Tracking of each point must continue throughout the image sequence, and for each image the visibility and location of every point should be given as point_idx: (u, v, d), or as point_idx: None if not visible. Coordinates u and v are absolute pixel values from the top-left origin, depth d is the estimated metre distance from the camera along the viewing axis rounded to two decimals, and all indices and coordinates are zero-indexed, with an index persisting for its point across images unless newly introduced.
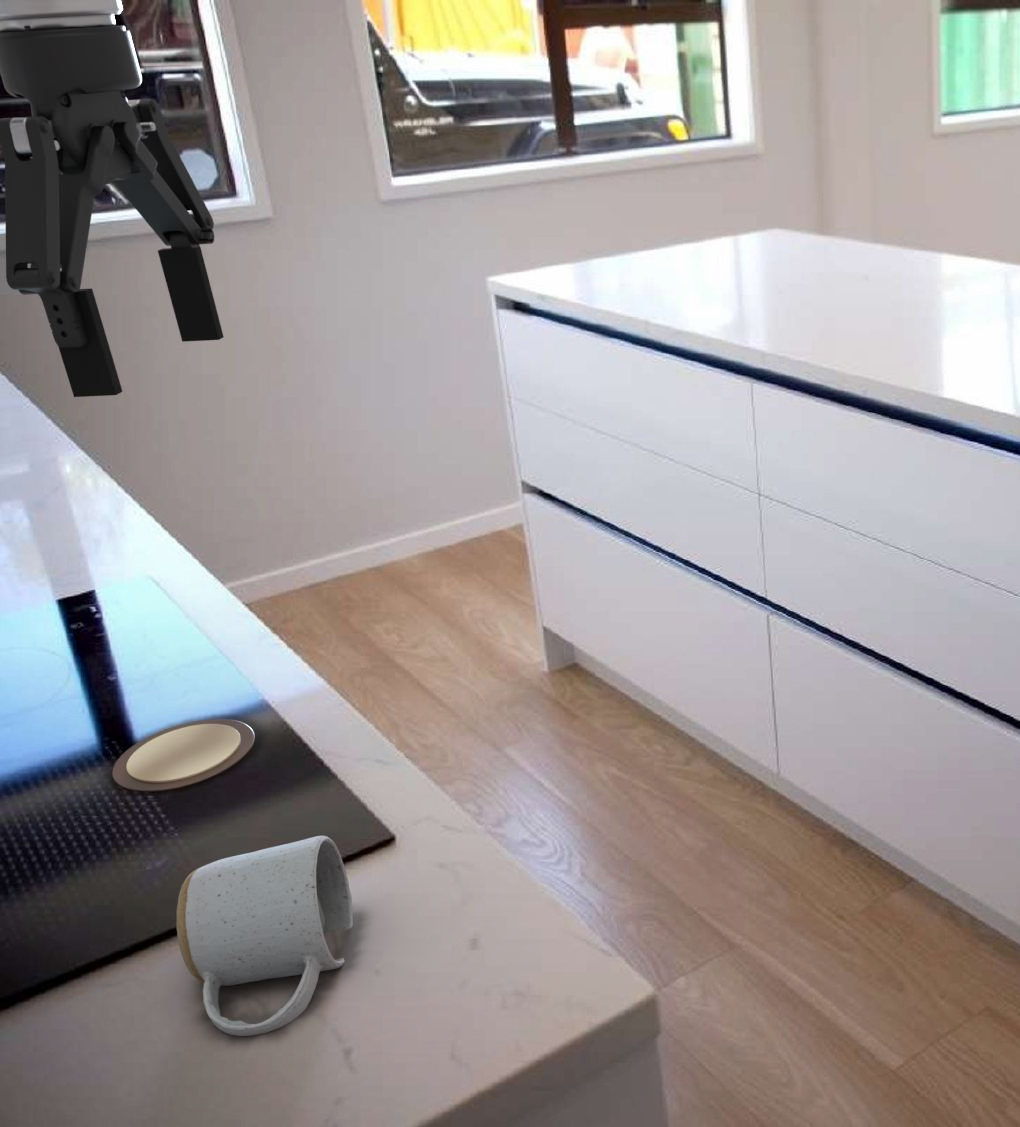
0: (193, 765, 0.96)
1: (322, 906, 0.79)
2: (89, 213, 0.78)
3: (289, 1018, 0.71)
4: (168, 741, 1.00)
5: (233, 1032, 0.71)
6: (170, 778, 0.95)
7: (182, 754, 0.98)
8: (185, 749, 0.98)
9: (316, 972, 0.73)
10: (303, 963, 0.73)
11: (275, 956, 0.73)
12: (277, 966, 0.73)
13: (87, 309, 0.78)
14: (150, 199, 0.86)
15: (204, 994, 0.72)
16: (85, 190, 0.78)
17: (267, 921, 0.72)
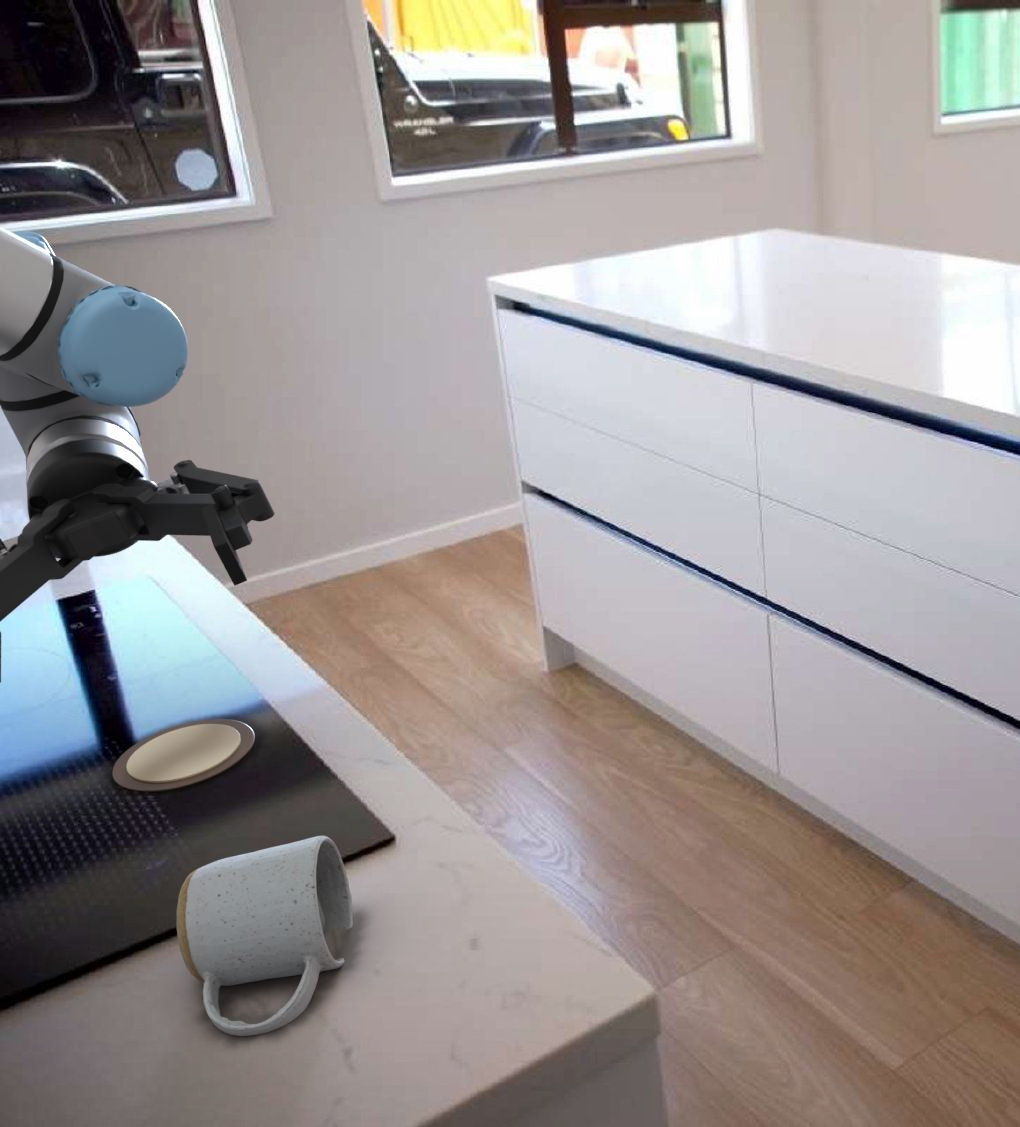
0: (193, 765, 0.96)
1: (322, 906, 0.79)
2: None
3: (289, 1018, 0.71)
4: (168, 741, 1.00)
5: (233, 1032, 0.71)
6: (170, 778, 0.95)
7: (182, 754, 0.98)
8: (185, 749, 0.98)
9: (316, 972, 0.73)
10: (303, 963, 0.73)
11: (275, 956, 0.73)
12: (277, 966, 0.73)
13: None
14: (27, 580, 0.79)
15: (204, 994, 0.72)
16: None
17: (267, 921, 0.72)
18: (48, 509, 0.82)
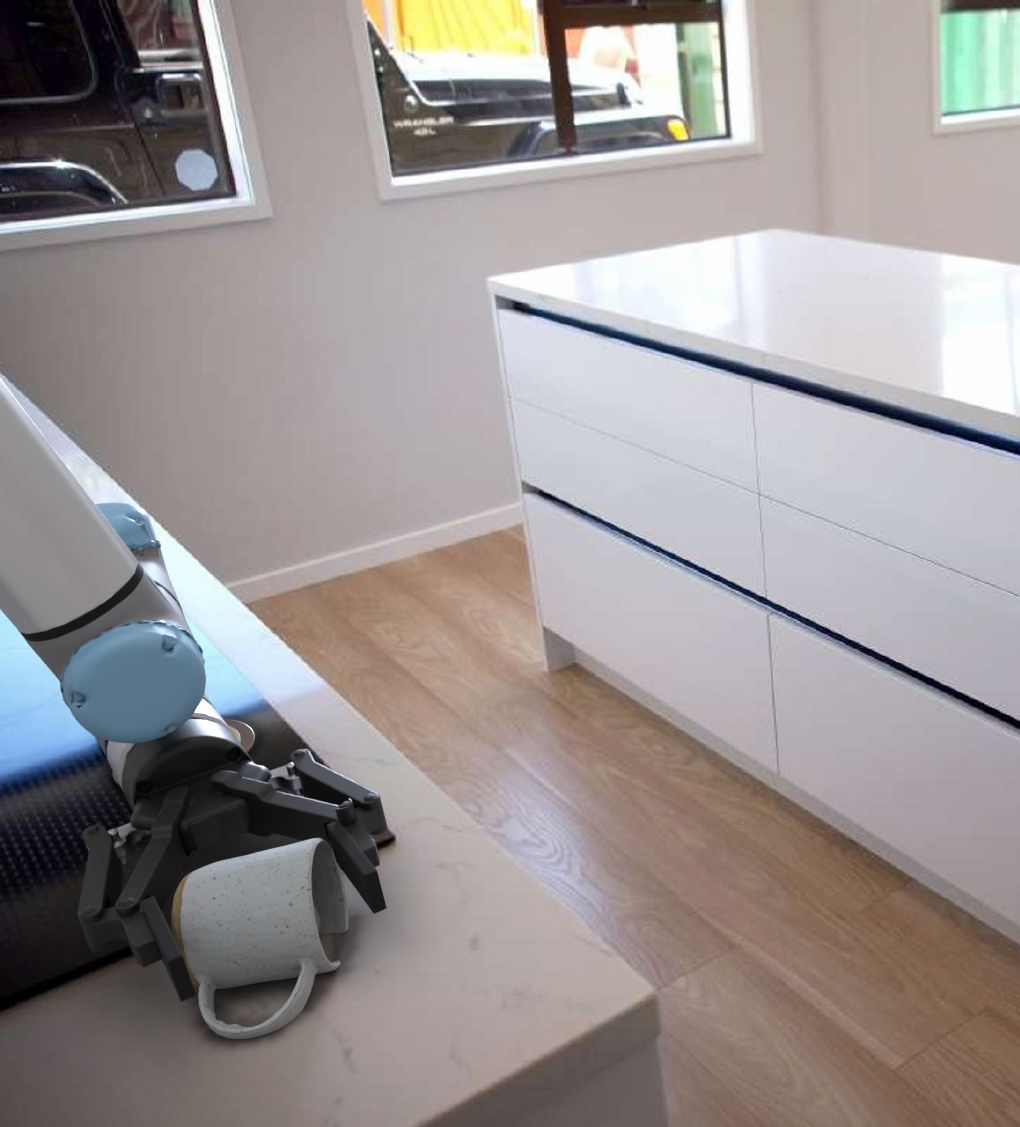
0: None
1: (317, 908, 0.79)
2: None
3: (285, 1021, 0.71)
4: None
5: (229, 1035, 0.70)
6: None
7: None
8: None
9: (311, 975, 0.73)
10: (299, 966, 0.73)
11: (270, 959, 0.72)
12: (273, 969, 0.73)
13: None
14: (169, 873, 0.76)
15: (199, 997, 0.71)
16: None
17: (262, 924, 0.72)
18: (166, 797, 0.80)
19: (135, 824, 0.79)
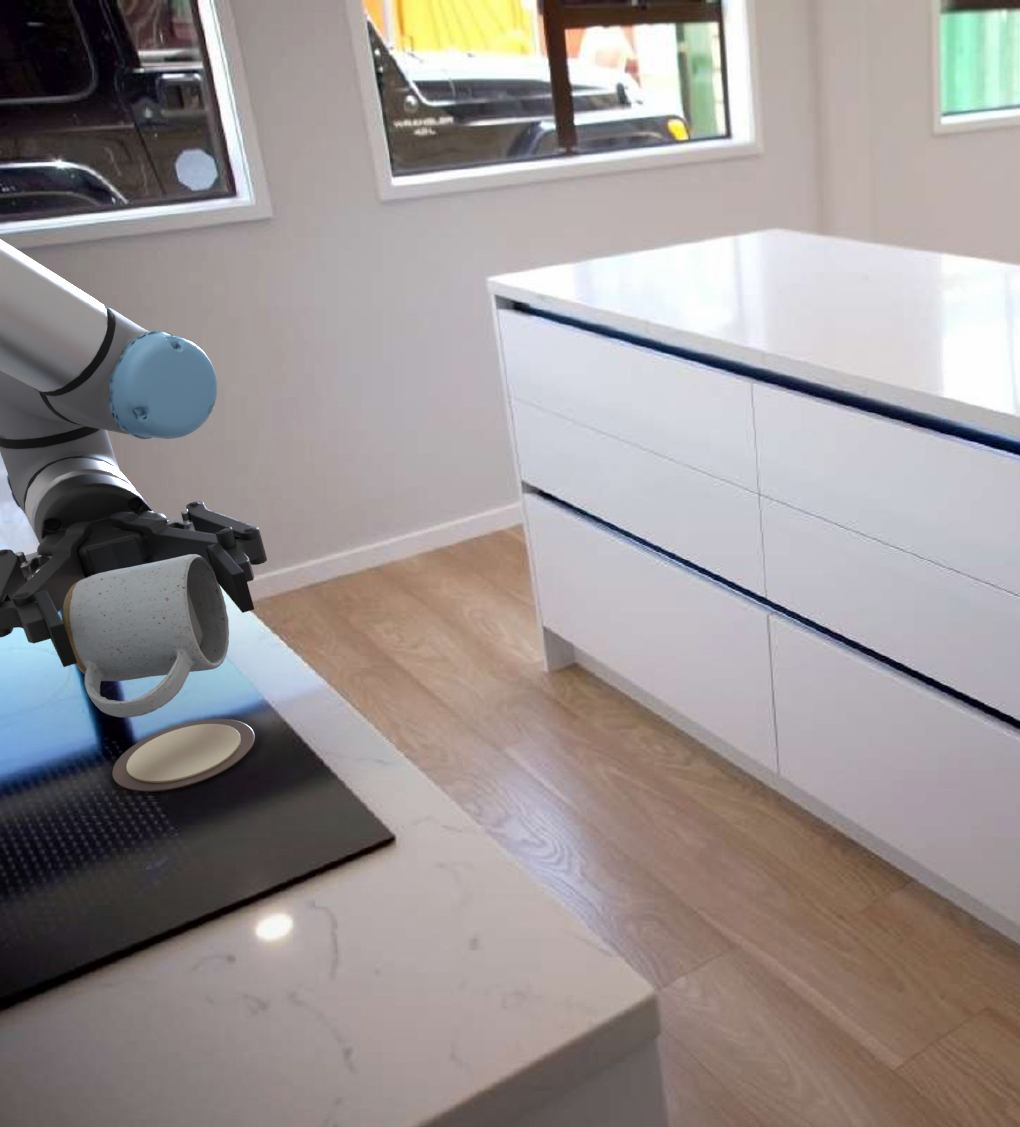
0: (193, 765, 0.96)
1: (201, 626, 0.89)
2: None
3: (160, 698, 0.81)
4: (168, 741, 1.00)
5: (109, 707, 0.80)
6: (170, 778, 0.95)
7: (182, 754, 0.98)
8: (185, 749, 0.98)
9: (187, 665, 0.83)
10: (175, 656, 0.83)
11: (149, 648, 0.82)
12: (152, 658, 0.82)
13: None
14: (67, 585, 0.86)
15: (85, 678, 0.81)
16: None
17: (142, 615, 0.81)
18: (69, 528, 0.89)
19: (41, 551, 0.89)
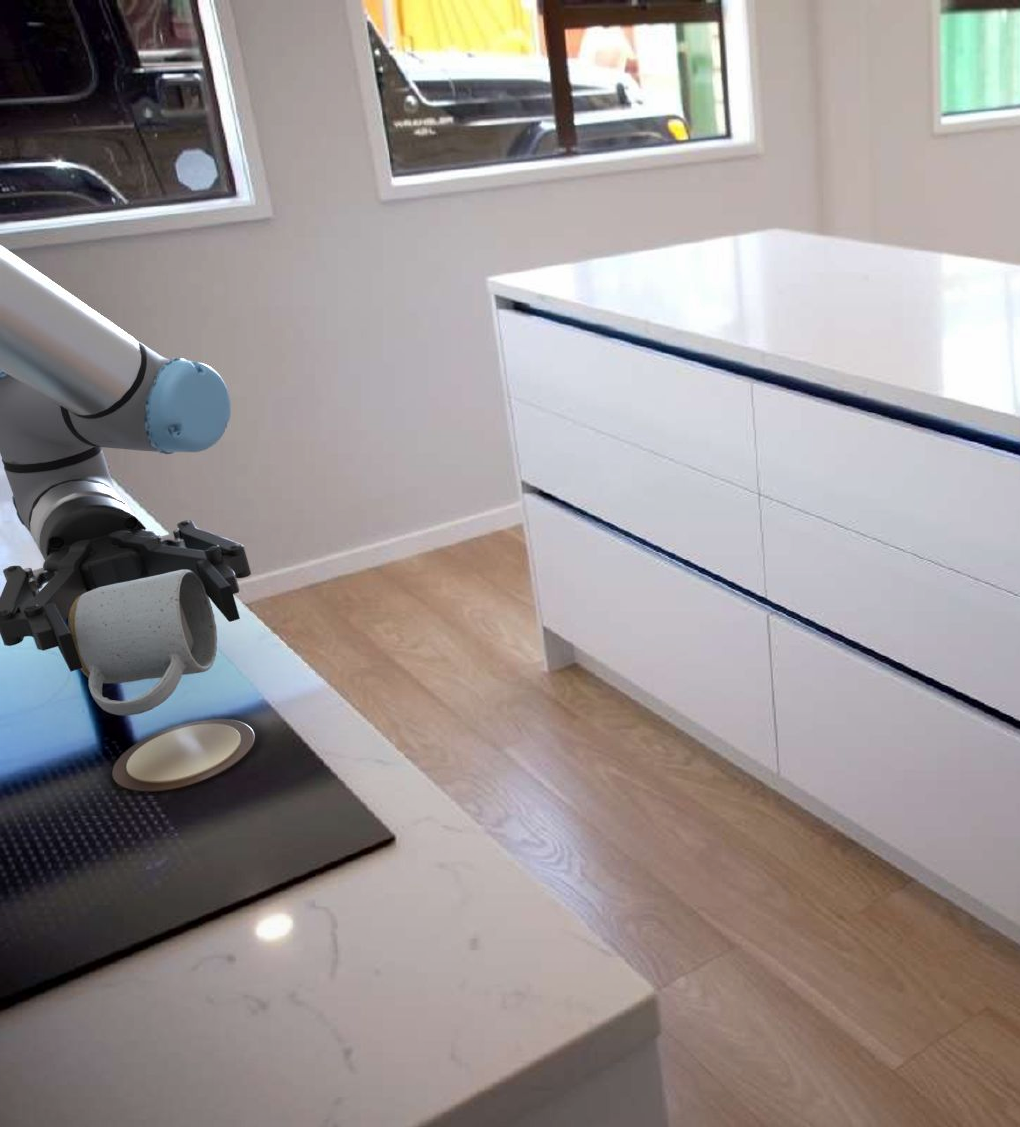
0: (193, 765, 0.96)
1: (192, 633, 0.99)
2: None
3: (156, 698, 0.91)
4: (168, 741, 1.00)
5: (111, 707, 0.90)
6: (170, 778, 0.95)
7: (182, 754, 0.98)
8: (185, 749, 0.98)
9: (179, 669, 0.93)
10: (169, 661, 0.93)
11: (146, 653, 0.92)
12: (148, 663, 0.93)
13: None
14: (71, 598, 0.96)
15: (89, 681, 0.91)
16: None
17: (139, 624, 0.92)
18: (72, 546, 0.99)
19: (47, 567, 0.99)
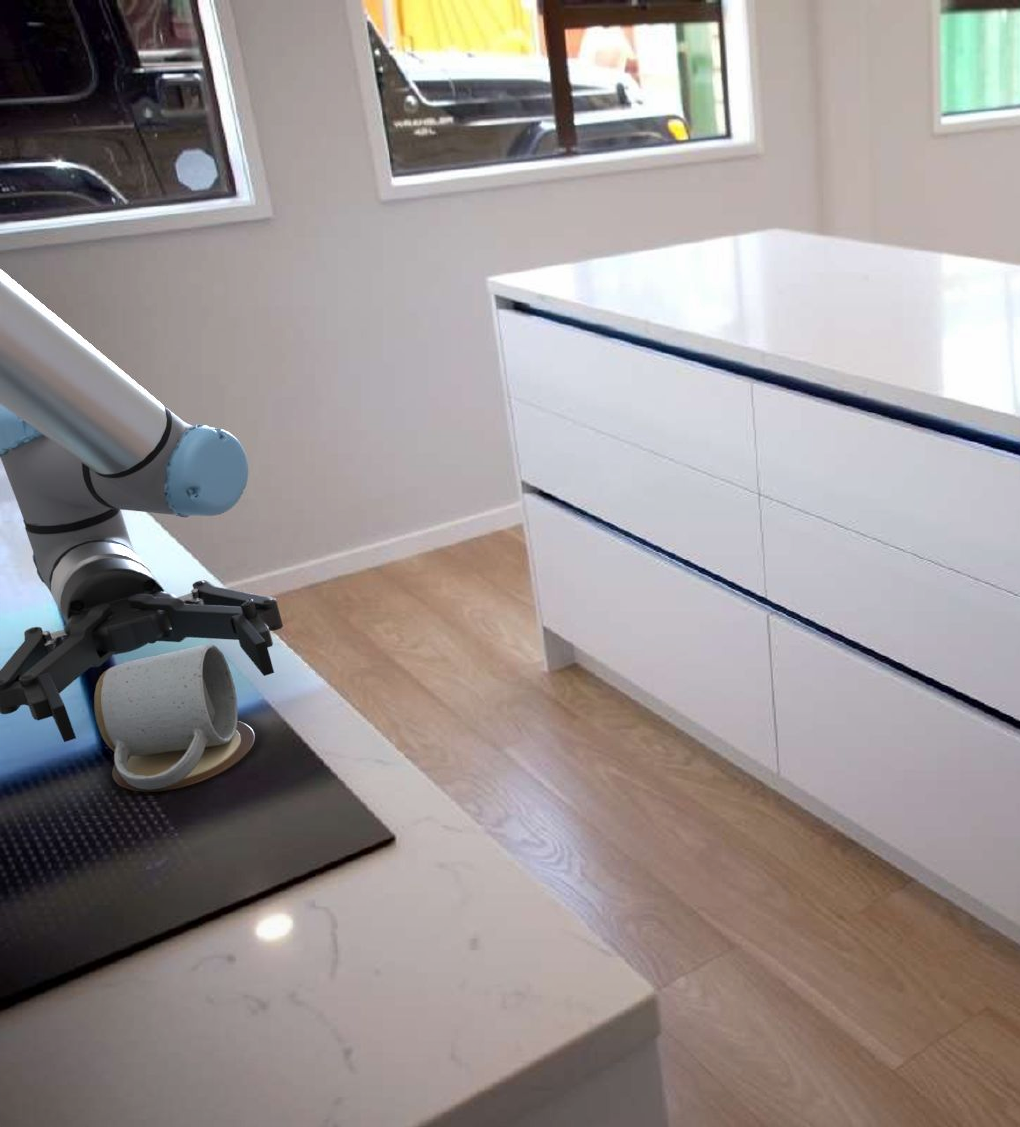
0: None
1: (213, 704, 1.01)
2: None
3: (180, 773, 0.94)
4: None
5: (136, 782, 0.93)
6: None
7: (182, 754, 0.98)
8: None
9: (202, 743, 0.95)
10: (192, 735, 0.95)
11: (170, 728, 0.95)
12: (172, 737, 0.95)
13: None
14: (77, 664, 0.98)
15: (115, 755, 0.94)
16: None
17: (163, 700, 0.94)
18: (92, 610, 1.02)
19: (68, 631, 1.02)
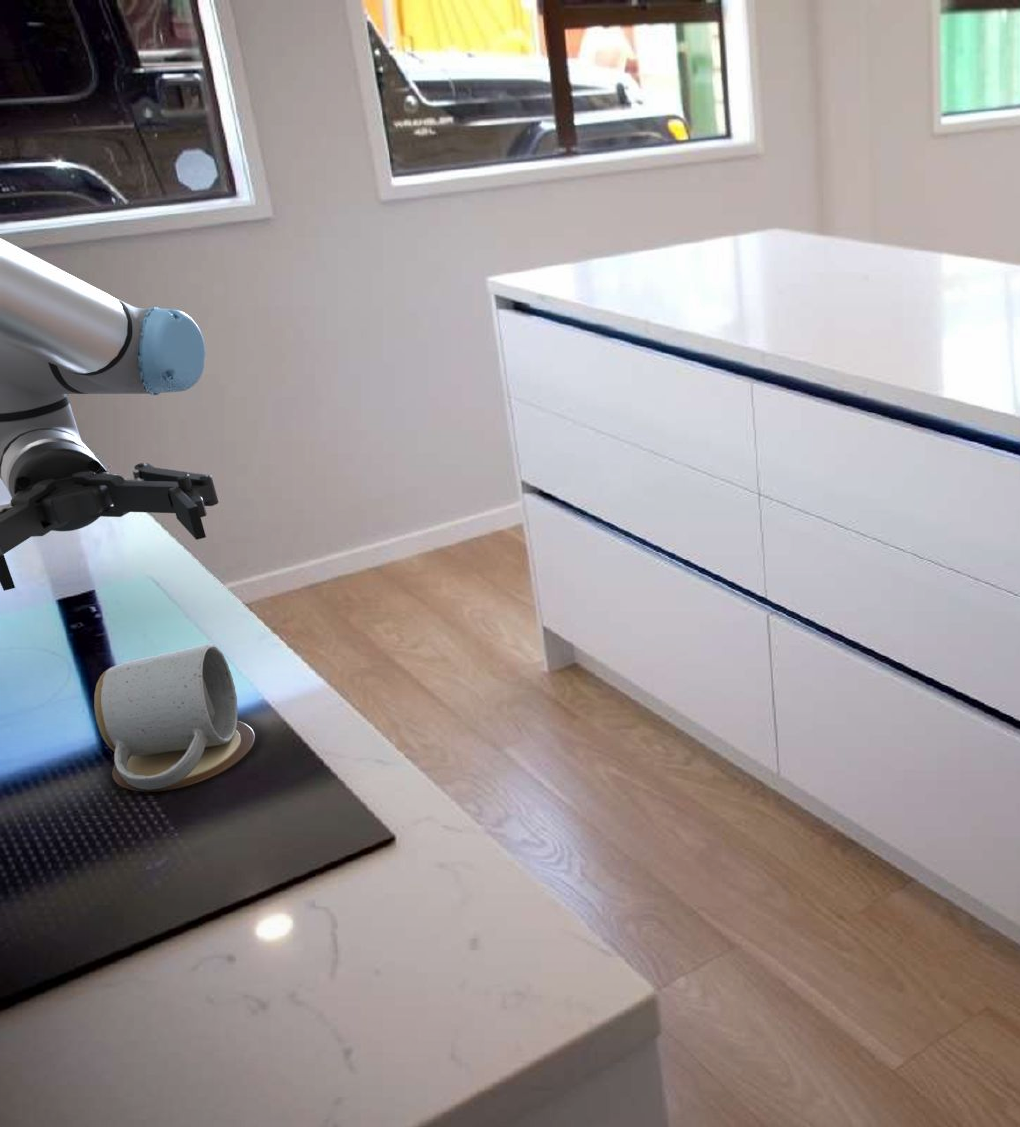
0: None
1: (213, 704, 1.01)
2: None
3: (180, 773, 0.94)
4: None
5: (136, 782, 0.93)
6: None
7: (182, 754, 0.98)
8: None
9: (202, 743, 0.95)
10: (192, 735, 0.95)
11: (170, 728, 0.95)
12: (172, 737, 0.95)
13: None
14: (20, 530, 1.05)
15: (115, 756, 0.94)
16: None
17: (163, 700, 0.94)
18: (37, 484, 1.08)
19: (13, 503, 1.08)
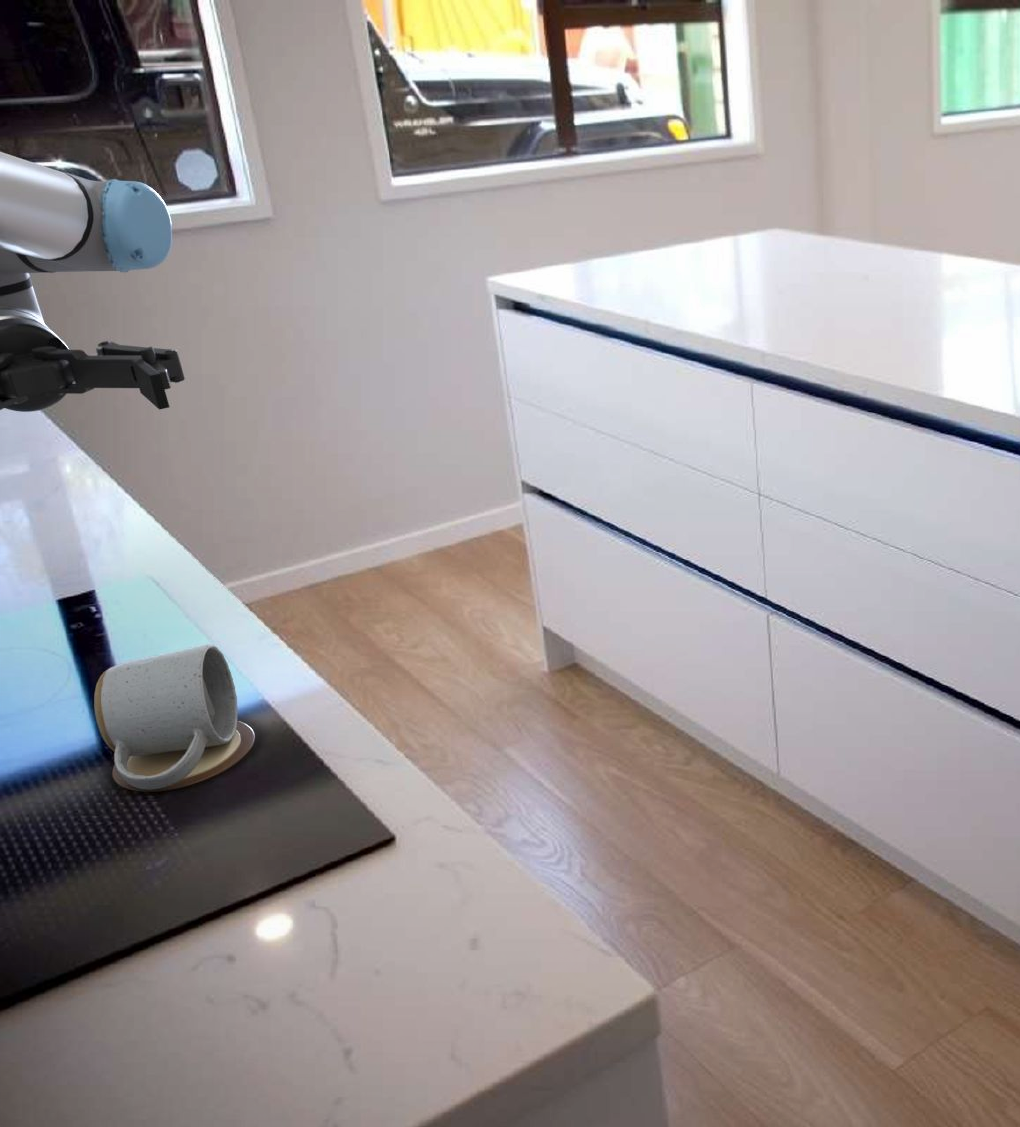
0: None
1: (213, 704, 1.01)
2: None
3: (180, 773, 0.94)
4: None
5: (136, 782, 0.93)
6: None
7: (182, 754, 0.98)
8: None
9: (202, 743, 0.95)
10: (192, 735, 0.95)
11: (170, 728, 0.95)
12: (172, 737, 0.95)
13: None
14: None
15: (115, 756, 0.94)
16: None
17: (163, 700, 0.94)
18: None
19: None
